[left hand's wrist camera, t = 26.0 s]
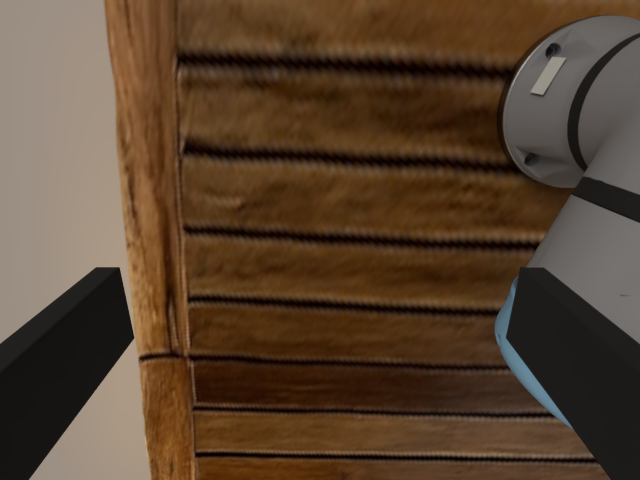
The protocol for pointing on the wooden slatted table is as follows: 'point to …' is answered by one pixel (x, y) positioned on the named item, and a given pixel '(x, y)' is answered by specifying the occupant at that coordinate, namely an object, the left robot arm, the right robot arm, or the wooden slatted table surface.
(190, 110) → the wooden slatted table surface
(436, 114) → the wooden slatted table surface
